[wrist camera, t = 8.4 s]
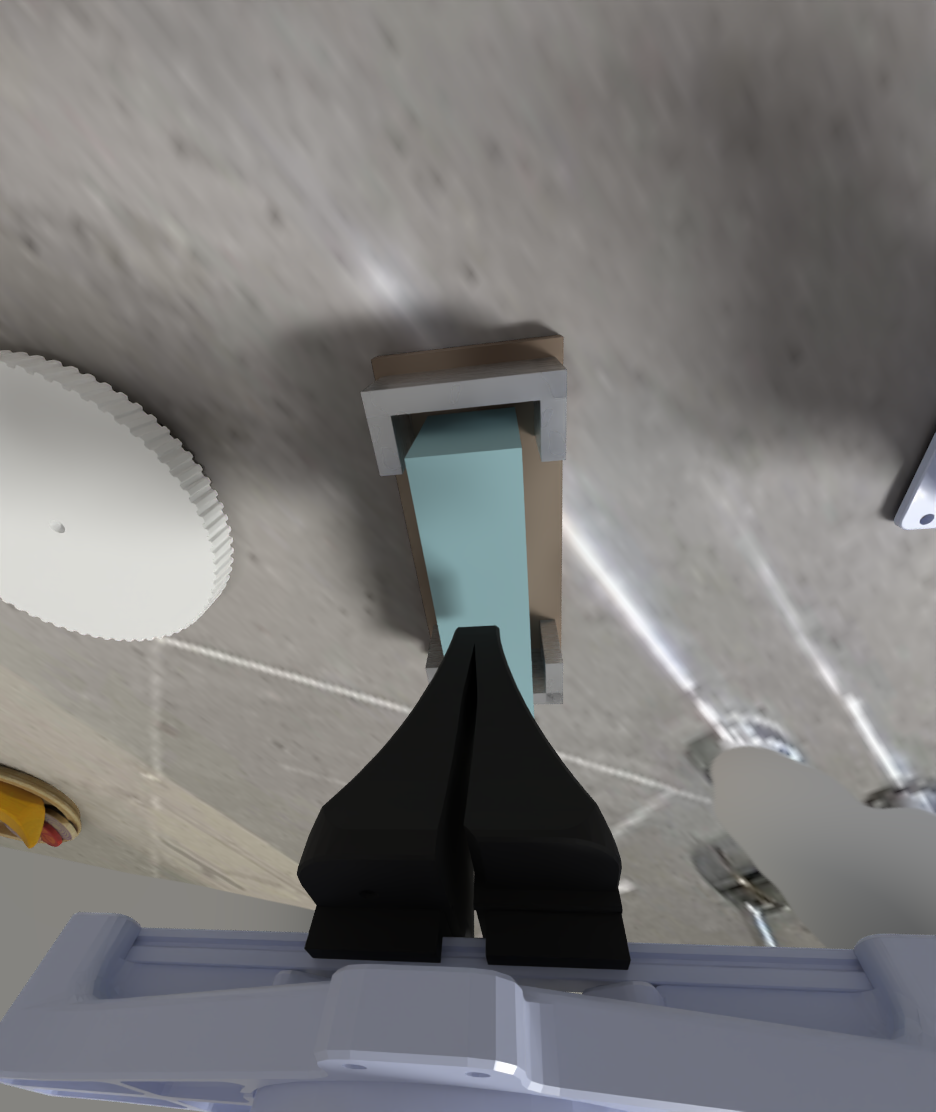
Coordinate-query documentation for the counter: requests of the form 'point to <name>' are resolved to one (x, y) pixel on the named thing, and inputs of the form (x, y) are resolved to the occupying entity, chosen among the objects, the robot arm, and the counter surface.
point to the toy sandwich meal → (35, 810)
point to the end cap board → (537, 476)
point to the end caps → (464, 389)
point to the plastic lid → (101, 509)
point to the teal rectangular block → (475, 528)
